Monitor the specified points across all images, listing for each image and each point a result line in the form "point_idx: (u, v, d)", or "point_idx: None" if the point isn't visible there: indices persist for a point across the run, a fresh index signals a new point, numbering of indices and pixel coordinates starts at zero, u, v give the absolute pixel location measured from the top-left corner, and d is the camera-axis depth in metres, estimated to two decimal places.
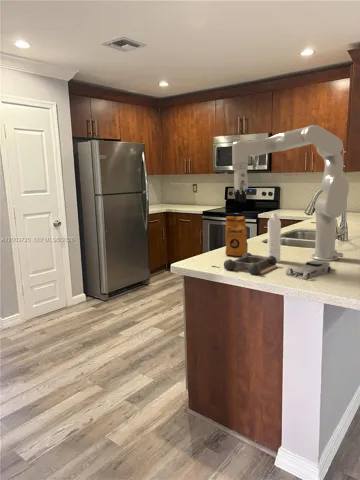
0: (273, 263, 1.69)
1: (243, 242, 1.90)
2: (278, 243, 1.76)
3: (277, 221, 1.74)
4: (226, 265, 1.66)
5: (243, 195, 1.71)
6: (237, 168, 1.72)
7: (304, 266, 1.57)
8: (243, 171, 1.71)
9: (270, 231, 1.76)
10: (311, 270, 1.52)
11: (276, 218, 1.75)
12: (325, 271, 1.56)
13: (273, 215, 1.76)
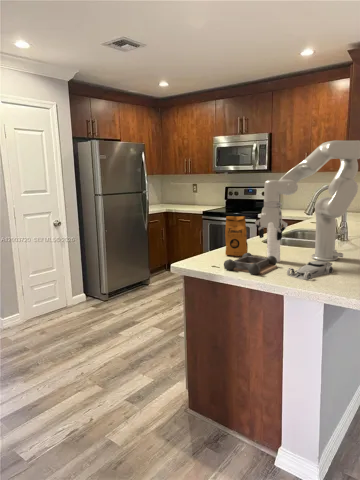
0: (273, 263, 1.69)
1: (243, 242, 1.90)
2: (278, 243, 1.76)
3: None
4: (226, 265, 1.66)
5: (281, 233, 1.74)
6: (275, 207, 1.72)
7: (306, 266, 1.56)
8: (280, 210, 1.73)
9: (269, 231, 1.76)
10: (312, 270, 1.52)
11: None
12: (327, 271, 1.55)
13: None
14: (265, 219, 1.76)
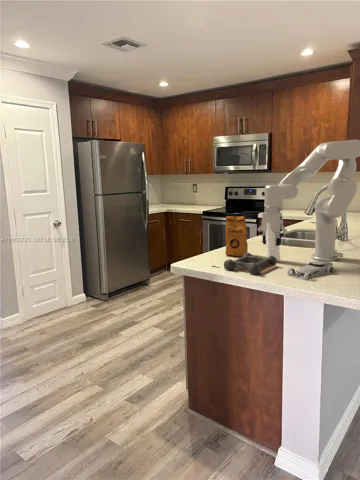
0: (273, 263, 1.69)
1: (243, 242, 1.90)
2: None
3: None
4: (226, 265, 1.66)
5: (280, 239, 1.76)
6: (276, 211, 1.73)
7: (306, 266, 1.56)
8: (281, 214, 1.74)
9: (267, 230, 1.77)
10: (313, 270, 1.52)
11: None
12: (327, 272, 1.55)
13: None
14: (266, 224, 1.77)
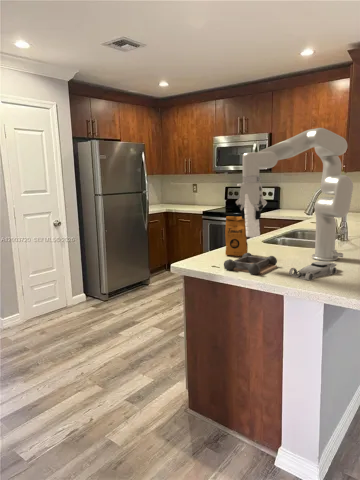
0: (273, 263, 1.69)
1: (243, 242, 1.90)
2: None
3: None
4: (226, 265, 1.66)
5: (259, 212, 1.61)
6: (254, 181, 1.58)
7: (308, 267, 1.56)
8: (260, 184, 1.59)
9: (246, 203, 1.62)
10: (315, 271, 1.51)
11: None
12: (330, 272, 1.54)
13: None
14: (244, 196, 1.62)
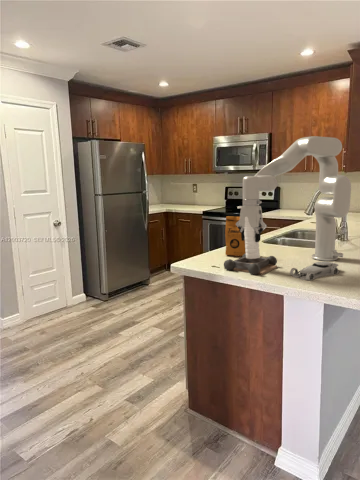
0: (273, 263, 1.69)
1: (243, 242, 1.90)
2: None
3: None
4: (226, 265, 1.66)
5: (259, 234, 1.63)
6: (254, 205, 1.60)
7: (310, 267, 1.55)
8: (260, 208, 1.61)
9: (246, 225, 1.64)
10: (316, 271, 1.51)
11: None
12: (331, 272, 1.53)
13: None
14: (244, 218, 1.64)
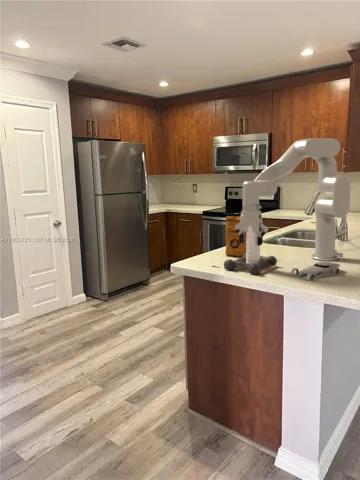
0: (273, 263, 1.69)
1: None
2: (257, 247, 1.64)
3: None
4: (226, 265, 1.66)
5: (262, 238, 1.62)
6: (254, 210, 1.60)
7: (311, 267, 1.55)
8: (260, 213, 1.61)
9: (248, 234, 1.64)
10: (317, 271, 1.50)
11: None
12: (333, 273, 1.53)
13: None
14: (244, 223, 1.64)
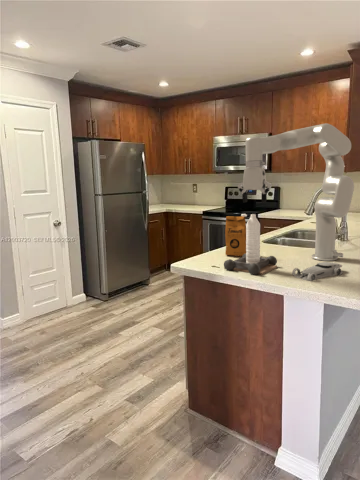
0: (273, 263, 1.69)
1: (243, 242, 1.90)
2: (257, 247, 1.64)
3: (256, 223, 1.62)
4: (226, 265, 1.66)
5: (265, 195, 1.60)
6: (257, 166, 1.58)
7: (312, 267, 1.54)
8: (263, 169, 1.59)
9: (248, 234, 1.64)
10: (318, 271, 1.50)
11: (255, 220, 1.63)
12: (334, 273, 1.52)
13: (252, 217, 1.64)
14: (248, 181, 1.62)
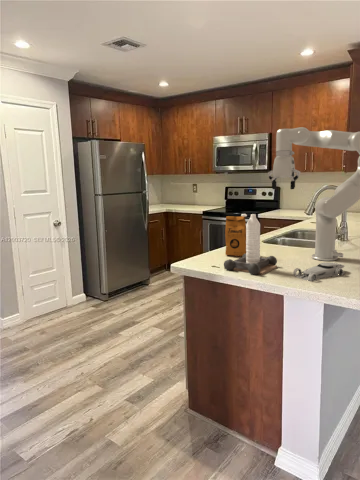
0: (273, 263, 1.69)
1: (243, 242, 1.90)
2: (257, 247, 1.64)
3: (256, 223, 1.62)
4: (226, 265, 1.66)
5: (294, 182, 1.75)
6: (288, 155, 1.73)
7: (314, 267, 1.54)
8: (293, 158, 1.74)
9: (248, 234, 1.64)
10: (319, 272, 1.49)
11: (255, 220, 1.63)
12: (336, 274, 1.51)
13: (252, 217, 1.63)
14: (278, 169, 1.77)
